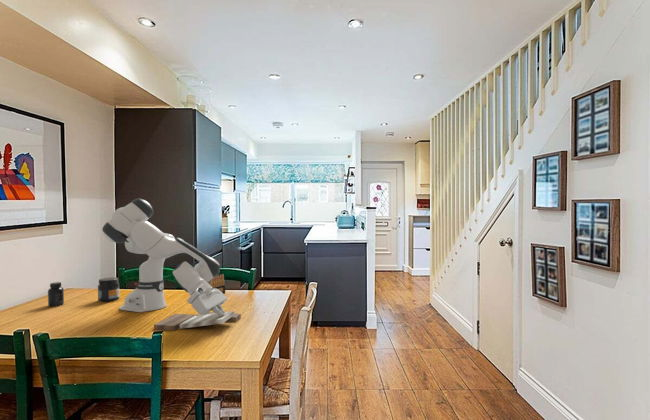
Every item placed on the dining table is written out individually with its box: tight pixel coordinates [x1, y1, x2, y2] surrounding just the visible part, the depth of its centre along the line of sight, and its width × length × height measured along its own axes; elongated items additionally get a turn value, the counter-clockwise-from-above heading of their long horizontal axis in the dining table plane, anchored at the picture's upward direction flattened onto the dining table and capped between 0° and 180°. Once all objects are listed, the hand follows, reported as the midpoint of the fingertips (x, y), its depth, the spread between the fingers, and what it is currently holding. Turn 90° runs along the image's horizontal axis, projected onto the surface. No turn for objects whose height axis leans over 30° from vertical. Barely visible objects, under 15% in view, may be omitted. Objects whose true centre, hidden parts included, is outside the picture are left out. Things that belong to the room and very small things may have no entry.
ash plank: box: [179, 310, 235, 330], centre depth 162 cm, size 20×12×2 cm, turn 80°
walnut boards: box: [153, 311, 242, 331], centre depth 165 cm, size 31×21×2 cm
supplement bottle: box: [47, 281, 65, 307], centre depth 195 cm, size 7×7×12 cm
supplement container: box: [97, 276, 120, 303], centre depth 206 cm, size 10×10×12 cm
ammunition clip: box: [209, 273, 226, 295], centre depth 217 cm, size 11×2×12 cm, turn 149°
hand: (222, 314), depth 160 cm, fingers closed
